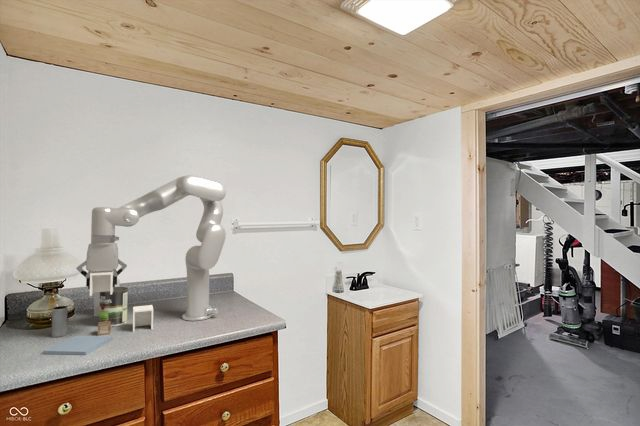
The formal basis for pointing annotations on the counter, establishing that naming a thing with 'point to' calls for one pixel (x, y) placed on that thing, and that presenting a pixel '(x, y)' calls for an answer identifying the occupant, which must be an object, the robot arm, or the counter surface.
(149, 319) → the plain white cube box
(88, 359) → the counter surface
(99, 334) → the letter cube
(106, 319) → the coffee can
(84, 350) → the slate board
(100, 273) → the white box
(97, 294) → the skincare box
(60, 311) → the grey cylinder
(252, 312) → the counter surface
